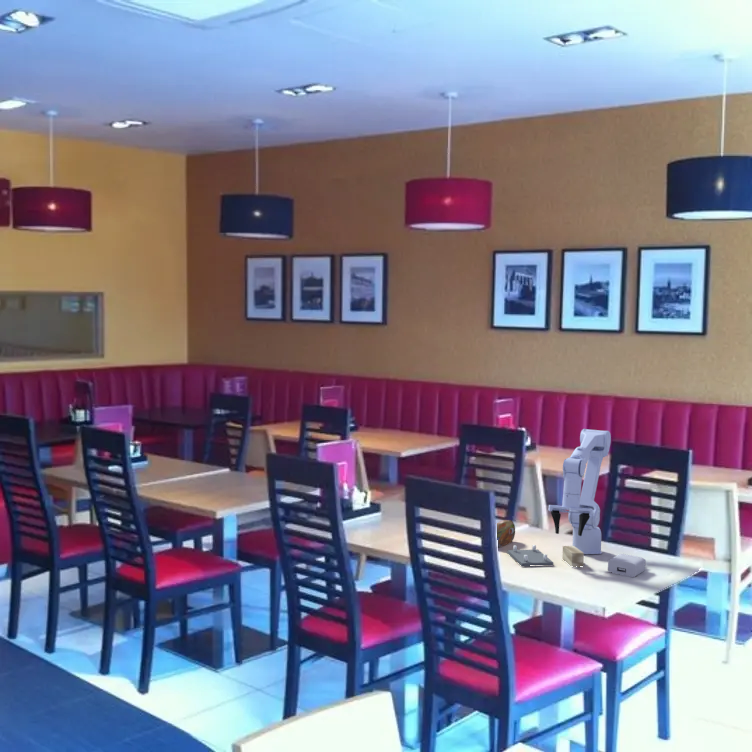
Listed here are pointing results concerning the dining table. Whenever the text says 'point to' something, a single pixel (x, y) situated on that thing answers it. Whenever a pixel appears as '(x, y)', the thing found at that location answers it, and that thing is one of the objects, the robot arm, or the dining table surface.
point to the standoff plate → (529, 557)
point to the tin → (505, 532)
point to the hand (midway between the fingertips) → (568, 534)
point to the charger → (626, 565)
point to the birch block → (573, 556)
